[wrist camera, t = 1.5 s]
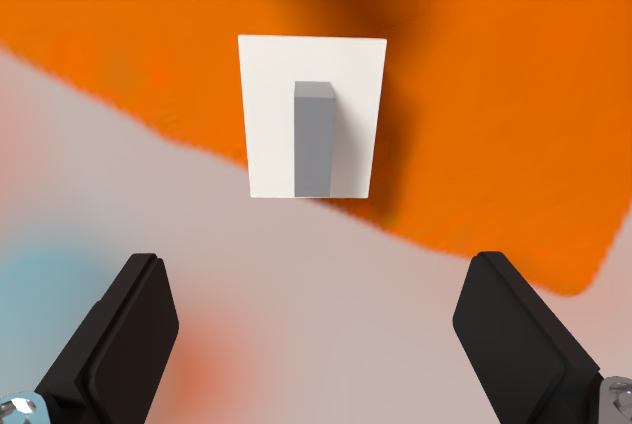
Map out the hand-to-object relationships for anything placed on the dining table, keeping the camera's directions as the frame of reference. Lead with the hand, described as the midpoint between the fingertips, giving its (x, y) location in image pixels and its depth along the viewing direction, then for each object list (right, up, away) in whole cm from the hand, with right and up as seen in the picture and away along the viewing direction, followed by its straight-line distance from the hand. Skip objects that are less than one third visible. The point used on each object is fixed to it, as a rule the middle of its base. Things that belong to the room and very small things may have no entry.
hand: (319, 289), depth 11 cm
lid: (-1, +9, +14) cm, 17 cm away
